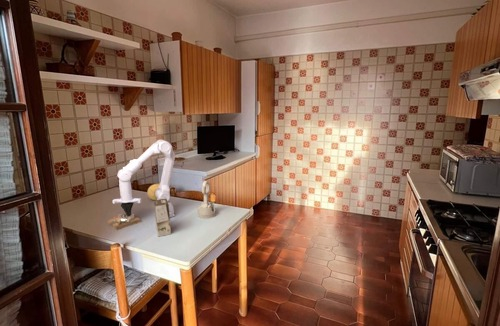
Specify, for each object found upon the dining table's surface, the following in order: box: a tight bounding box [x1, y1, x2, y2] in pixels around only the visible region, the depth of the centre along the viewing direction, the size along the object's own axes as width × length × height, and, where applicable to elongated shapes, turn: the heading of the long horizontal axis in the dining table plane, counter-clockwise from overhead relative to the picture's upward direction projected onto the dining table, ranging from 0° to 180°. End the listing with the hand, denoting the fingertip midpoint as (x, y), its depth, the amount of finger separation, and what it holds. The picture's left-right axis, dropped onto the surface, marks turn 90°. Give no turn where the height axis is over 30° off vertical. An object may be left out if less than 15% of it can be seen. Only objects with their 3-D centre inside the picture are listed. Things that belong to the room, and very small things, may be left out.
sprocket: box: [113, 212, 135, 224], centre depth 145 cm, size 11×11×5 cm
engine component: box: [197, 180, 216, 220], centre depth 153 cm, size 11×20×10 cm
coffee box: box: [153, 199, 172, 237], centre depth 133 cm, size 9×6×16 cm
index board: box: [106, 215, 142, 231], centre depth 146 cm, size 13×13×4 cm
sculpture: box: [146, 183, 160, 201], centre depth 182 cm, size 11×12×11 cm
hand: (128, 215), depth 144 cm, fingers closed
